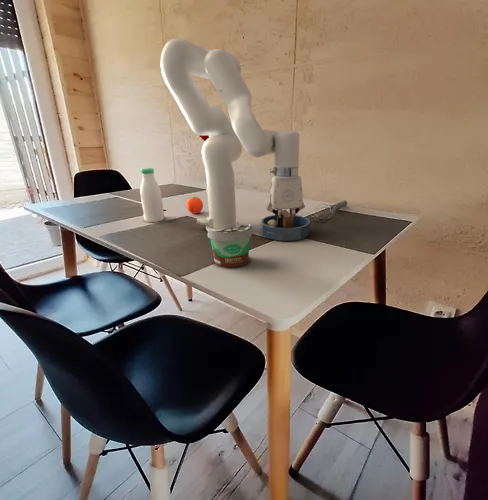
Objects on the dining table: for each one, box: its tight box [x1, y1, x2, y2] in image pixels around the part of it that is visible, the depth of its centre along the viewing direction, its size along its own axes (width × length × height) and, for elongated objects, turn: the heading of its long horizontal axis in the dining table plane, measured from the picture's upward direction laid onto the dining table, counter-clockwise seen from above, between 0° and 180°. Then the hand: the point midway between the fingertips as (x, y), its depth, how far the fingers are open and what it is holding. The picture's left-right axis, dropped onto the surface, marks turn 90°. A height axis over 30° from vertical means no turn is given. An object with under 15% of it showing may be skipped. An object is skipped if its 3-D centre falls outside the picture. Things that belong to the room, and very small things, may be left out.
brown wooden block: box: [281, 209, 293, 228], centre depth 104 cm, size 9×3×6 cm, turn 10°
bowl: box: [260, 214, 311, 242], centre depth 105 cm, size 16×16×4 cm
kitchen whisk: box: [311, 199, 348, 223], centre depth 127 cm, size 6×34×6 cm, turn 146°
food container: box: [207, 223, 254, 269], centre depth 82 cm, size 12×6×10 cm, turn 114°
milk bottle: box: [139, 167, 165, 223], centre depth 121 cm, size 8×8×20 cm
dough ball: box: [267, 220, 277, 227], centre depth 108 cm, size 4×4×4 cm
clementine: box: [186, 196, 204, 214], centre depth 132 cm, size 8×7×7 cm
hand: (285, 227), depth 105 cm, fingers closed on brown wooden block, 2 cm apart
